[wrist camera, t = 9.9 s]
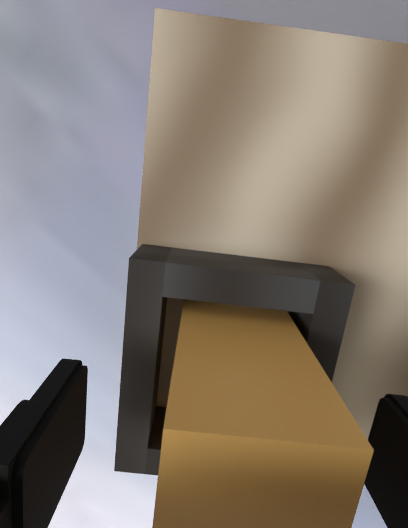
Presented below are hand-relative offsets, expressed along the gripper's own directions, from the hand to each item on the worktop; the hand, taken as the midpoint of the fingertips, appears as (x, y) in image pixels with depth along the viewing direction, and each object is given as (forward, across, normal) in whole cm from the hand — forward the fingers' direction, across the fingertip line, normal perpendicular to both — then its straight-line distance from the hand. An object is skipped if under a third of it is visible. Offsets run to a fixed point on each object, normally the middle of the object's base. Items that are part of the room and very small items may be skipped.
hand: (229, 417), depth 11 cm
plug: (+4, 0, 0) cm, 4 cm away
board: (+6, -4, -4) cm, 8 cm away
